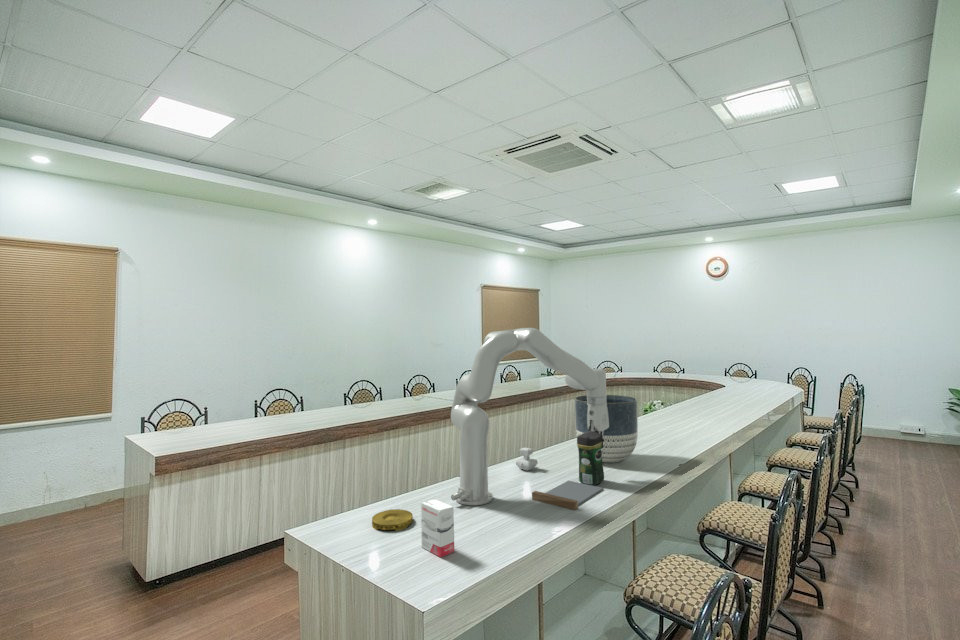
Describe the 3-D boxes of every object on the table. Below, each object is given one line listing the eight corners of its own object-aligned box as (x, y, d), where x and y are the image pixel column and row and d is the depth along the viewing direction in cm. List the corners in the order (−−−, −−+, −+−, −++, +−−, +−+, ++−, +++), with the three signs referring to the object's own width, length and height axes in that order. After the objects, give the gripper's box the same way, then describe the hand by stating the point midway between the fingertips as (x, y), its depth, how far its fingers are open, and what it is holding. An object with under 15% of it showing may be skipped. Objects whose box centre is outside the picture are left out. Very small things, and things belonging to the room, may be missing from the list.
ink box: (455, 551, 120) (454, 505, 121) (440, 558, 117) (439, 511, 117) (435, 541, 126) (434, 497, 127) (420, 547, 123) (419, 502, 123)
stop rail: (574, 510, 147) (574, 502, 147) (532, 499, 157) (532, 492, 157) (577, 508, 148) (577, 500, 148) (535, 497, 158) (535, 490, 158)
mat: (575, 507, 149) (575, 505, 149) (538, 498, 158) (538, 496, 158) (603, 489, 166) (603, 487, 166) (568, 482, 174) (568, 480, 174)
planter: (564, 460, 205) (562, 399, 205) (598, 449, 223) (596, 393, 223) (617, 472, 185) (615, 405, 186) (650, 459, 203) (648, 398, 204)
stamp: (527, 473, 187) (526, 452, 187) (513, 470, 191) (513, 449, 191) (539, 468, 193) (539, 447, 194) (526, 465, 198) (526, 445, 198)
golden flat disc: (381, 515, 146) (381, 508, 146) (417, 517, 144) (417, 510, 144) (365, 531, 134) (365, 523, 134) (405, 533, 132) (405, 526, 132)
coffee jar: (588, 475, 180) (586, 428, 180) (607, 479, 175) (604, 430, 174) (575, 483, 173) (572, 434, 173) (594, 488, 168) (591, 437, 167)
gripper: (597, 404, 172) (599, 454, 171) (613, 398, 183) (615, 445, 183) (579, 402, 176) (580, 451, 176) (596, 397, 188) (597, 443, 187)
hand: (598, 448), depth 179 cm, fingers closed
